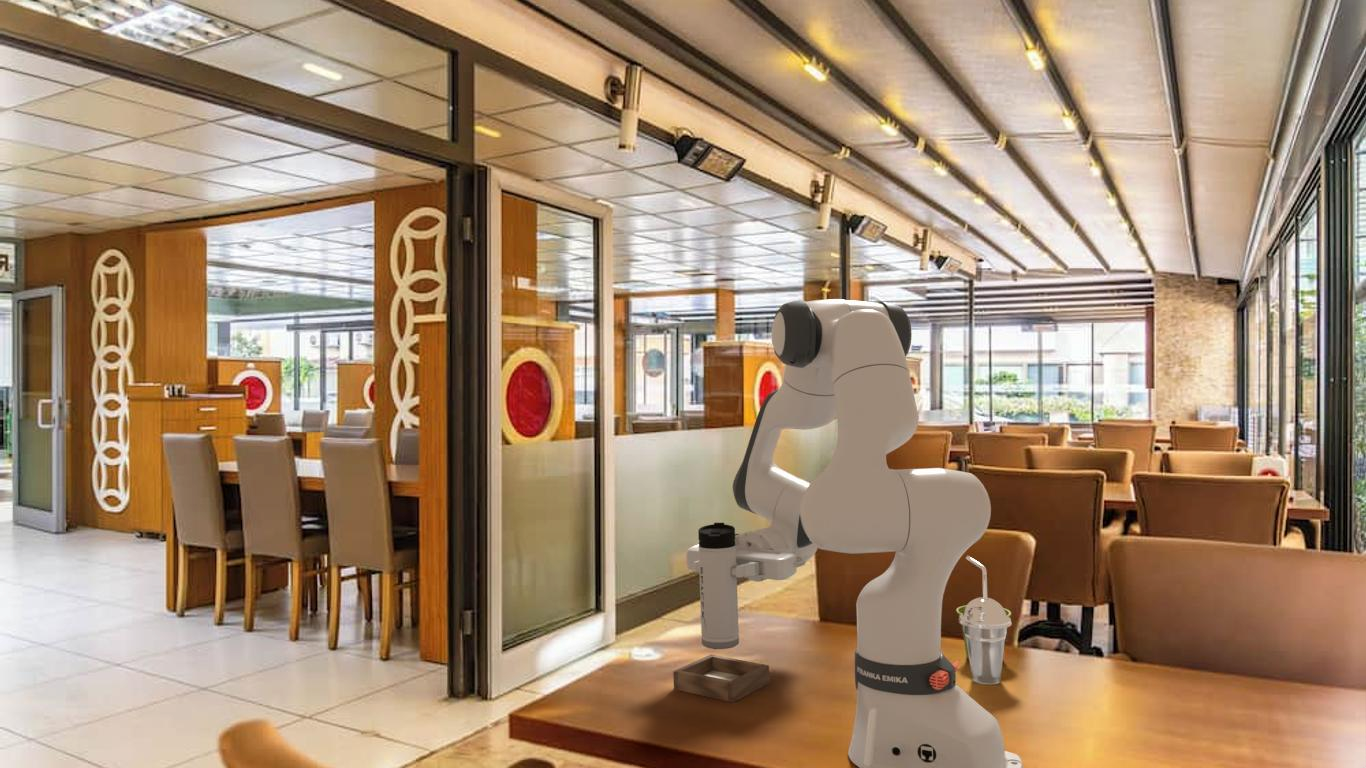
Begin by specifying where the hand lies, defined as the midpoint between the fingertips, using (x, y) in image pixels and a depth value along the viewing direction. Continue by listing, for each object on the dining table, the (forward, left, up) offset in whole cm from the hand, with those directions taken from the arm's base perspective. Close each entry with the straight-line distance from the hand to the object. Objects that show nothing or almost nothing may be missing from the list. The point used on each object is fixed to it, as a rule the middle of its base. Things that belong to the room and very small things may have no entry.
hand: (715, 570), depth 156 cm
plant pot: (-32, -38, -20) cm, 54 cm away
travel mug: (0, -1, -13) cm, 13 cm away
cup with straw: (-36, -27, -20) cm, 49 cm away
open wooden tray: (0, -1, -20) cm, 20 cm away
